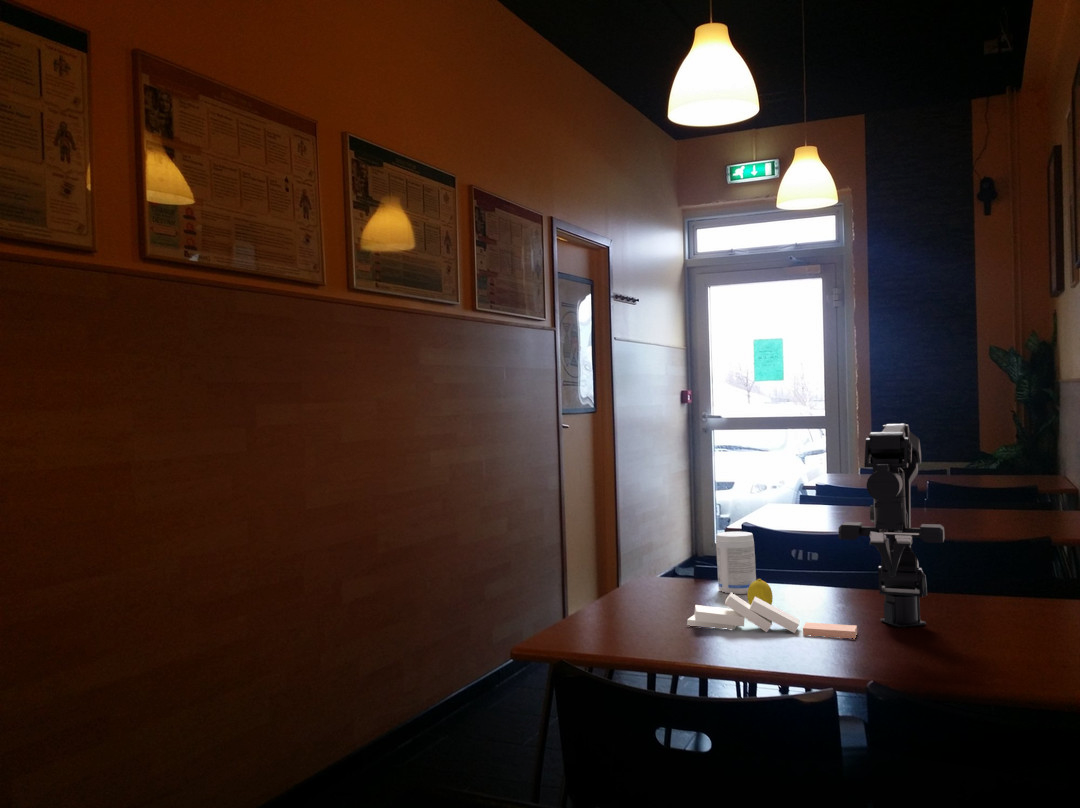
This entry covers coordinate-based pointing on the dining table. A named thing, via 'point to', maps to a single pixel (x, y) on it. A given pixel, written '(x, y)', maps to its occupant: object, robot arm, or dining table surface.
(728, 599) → the tile
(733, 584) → the supplement tub
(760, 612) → the tile
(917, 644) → the dining table surface
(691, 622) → the tile end
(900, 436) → the robot arm
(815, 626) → the tile
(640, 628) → the dining table surface
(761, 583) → the lemon
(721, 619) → the tile
